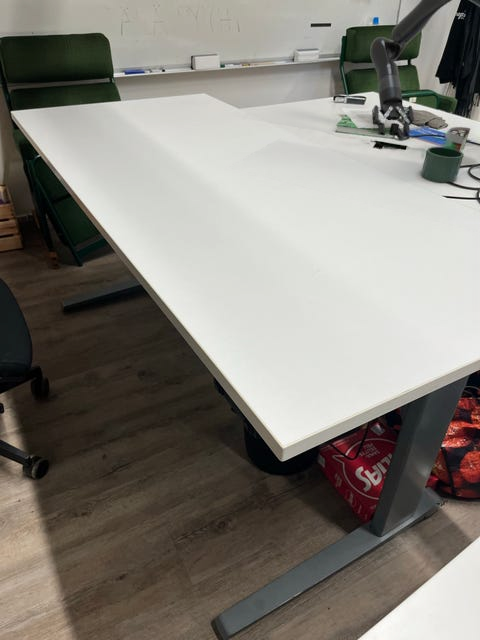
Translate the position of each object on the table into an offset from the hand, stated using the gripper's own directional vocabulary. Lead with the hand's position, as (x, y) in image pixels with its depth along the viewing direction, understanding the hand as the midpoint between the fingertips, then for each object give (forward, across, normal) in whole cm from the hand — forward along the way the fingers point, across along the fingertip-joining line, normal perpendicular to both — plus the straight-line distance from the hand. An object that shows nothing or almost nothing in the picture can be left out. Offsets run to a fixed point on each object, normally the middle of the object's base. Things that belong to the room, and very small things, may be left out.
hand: (395, 134), depth 167 cm
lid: (+1, 0, +3) cm, 4 cm away
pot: (+23, +3, -17) cm, 29 cm away
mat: (+2, 0, +4) cm, 5 cm away
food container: (+14, +13, -8) cm, 21 cm away
